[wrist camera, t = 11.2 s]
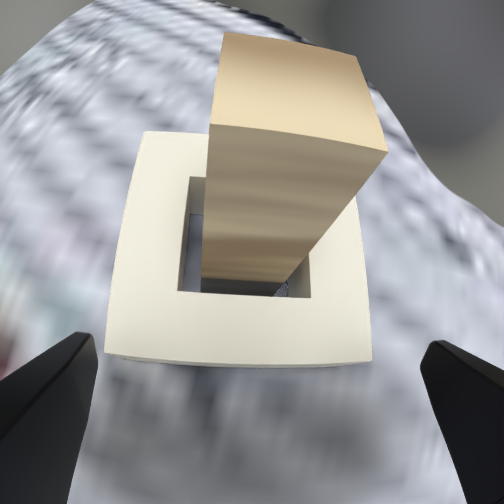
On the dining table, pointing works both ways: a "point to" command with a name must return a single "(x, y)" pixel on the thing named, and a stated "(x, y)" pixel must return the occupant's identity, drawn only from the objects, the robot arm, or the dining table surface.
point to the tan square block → (281, 158)
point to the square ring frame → (224, 305)
